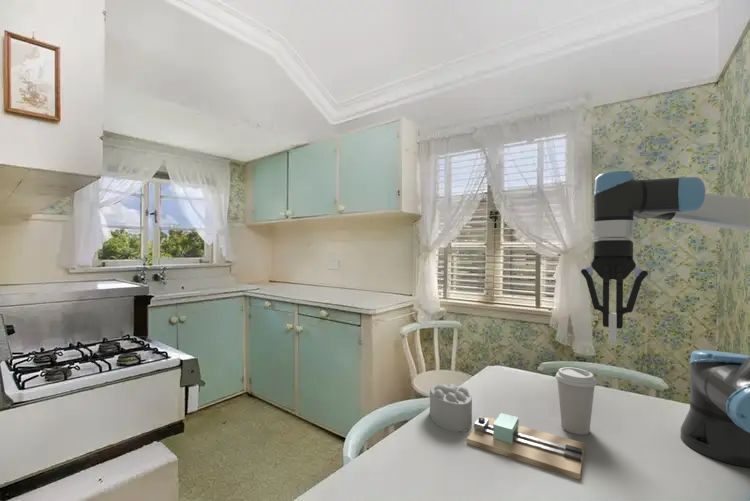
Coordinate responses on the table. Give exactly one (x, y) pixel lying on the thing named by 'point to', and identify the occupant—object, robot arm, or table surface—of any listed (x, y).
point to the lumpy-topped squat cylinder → (451, 407)
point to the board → (531, 450)
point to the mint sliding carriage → (505, 427)
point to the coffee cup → (575, 399)
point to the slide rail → (568, 451)
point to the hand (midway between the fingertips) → (612, 341)
